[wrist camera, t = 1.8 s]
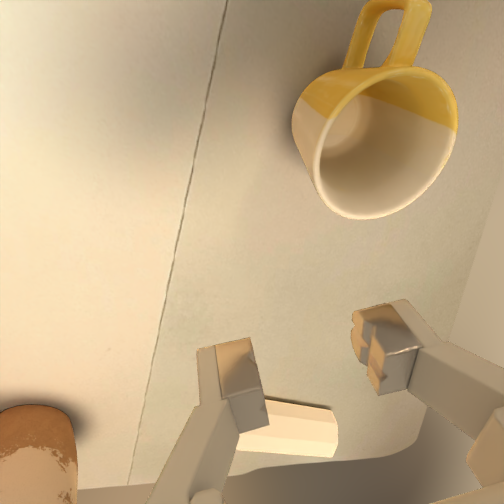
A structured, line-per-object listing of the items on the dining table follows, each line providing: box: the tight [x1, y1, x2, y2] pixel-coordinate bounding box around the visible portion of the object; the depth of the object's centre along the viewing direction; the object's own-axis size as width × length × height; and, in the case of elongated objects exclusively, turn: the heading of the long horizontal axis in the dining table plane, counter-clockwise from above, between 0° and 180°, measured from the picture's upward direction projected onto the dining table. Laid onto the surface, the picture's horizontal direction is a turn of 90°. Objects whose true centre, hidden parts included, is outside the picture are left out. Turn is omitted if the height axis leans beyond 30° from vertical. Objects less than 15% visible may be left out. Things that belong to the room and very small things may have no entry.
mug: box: [292, 0, 458, 220], centre depth 26 cm, size 14×10×10 cm
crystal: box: [236, 399, 338, 457], centre depth 57 cm, size 7×7×24 cm
